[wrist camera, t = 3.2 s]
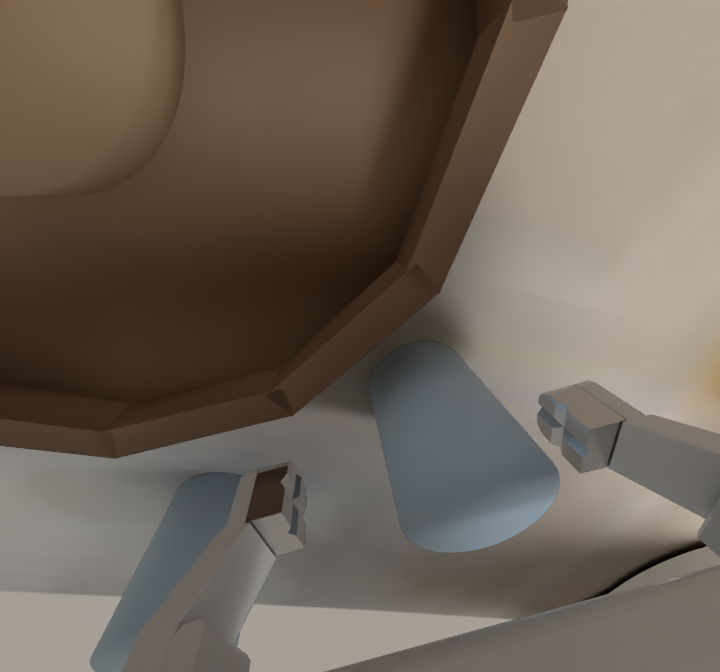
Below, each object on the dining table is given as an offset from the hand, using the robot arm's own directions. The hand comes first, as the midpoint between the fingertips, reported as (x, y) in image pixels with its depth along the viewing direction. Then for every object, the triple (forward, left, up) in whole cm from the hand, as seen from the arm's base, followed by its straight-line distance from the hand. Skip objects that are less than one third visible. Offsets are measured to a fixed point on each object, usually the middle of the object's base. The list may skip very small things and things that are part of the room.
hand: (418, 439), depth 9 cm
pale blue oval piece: (0, -1, -3) cm, 3 cm away
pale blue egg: (-4, +9, -3) cm, 10 cm away
